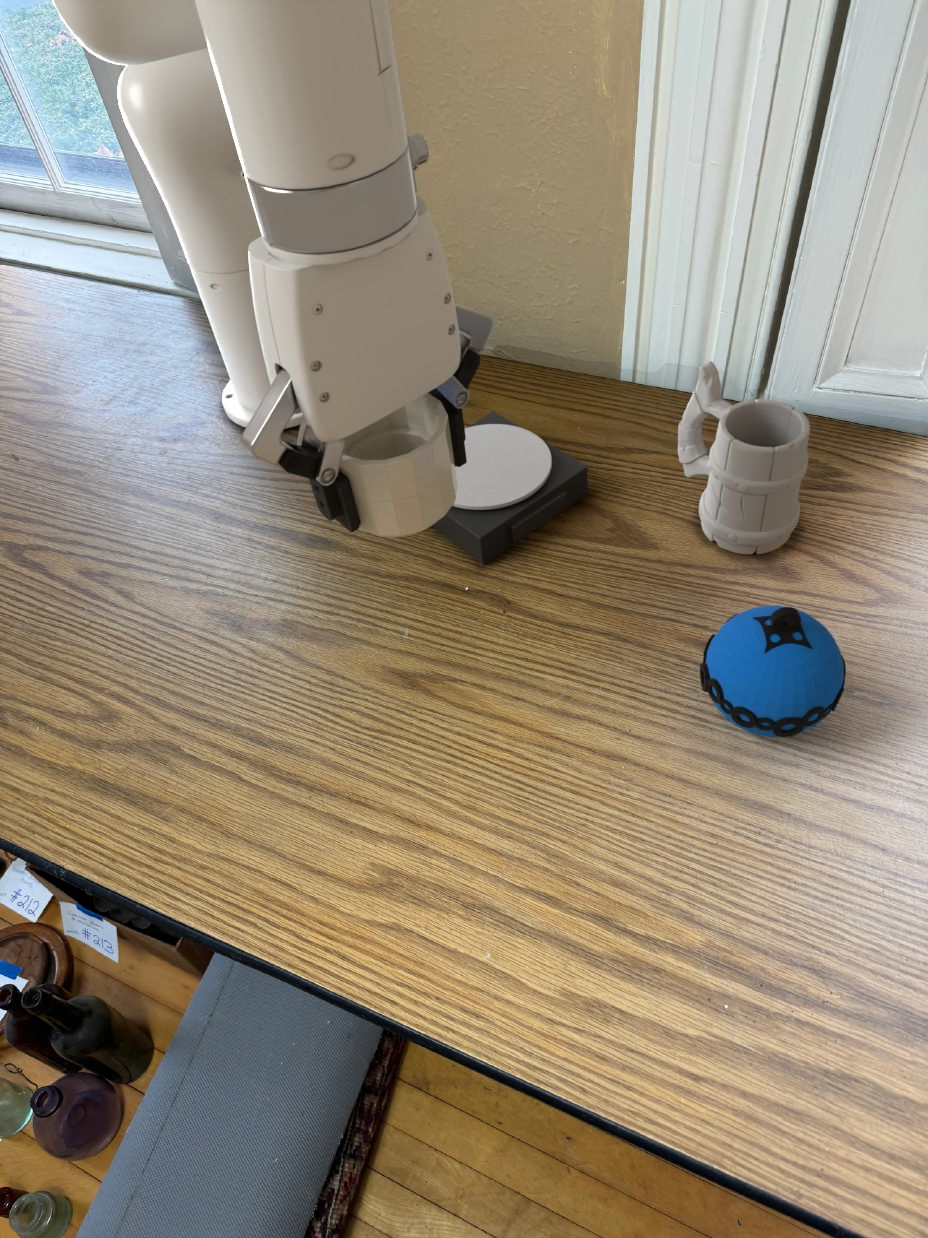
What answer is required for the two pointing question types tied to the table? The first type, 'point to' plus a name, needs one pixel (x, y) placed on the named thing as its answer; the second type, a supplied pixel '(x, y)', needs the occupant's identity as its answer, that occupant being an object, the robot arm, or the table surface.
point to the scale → (508, 487)
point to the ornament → (773, 671)
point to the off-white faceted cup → (402, 469)
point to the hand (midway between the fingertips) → (396, 485)
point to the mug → (745, 466)
